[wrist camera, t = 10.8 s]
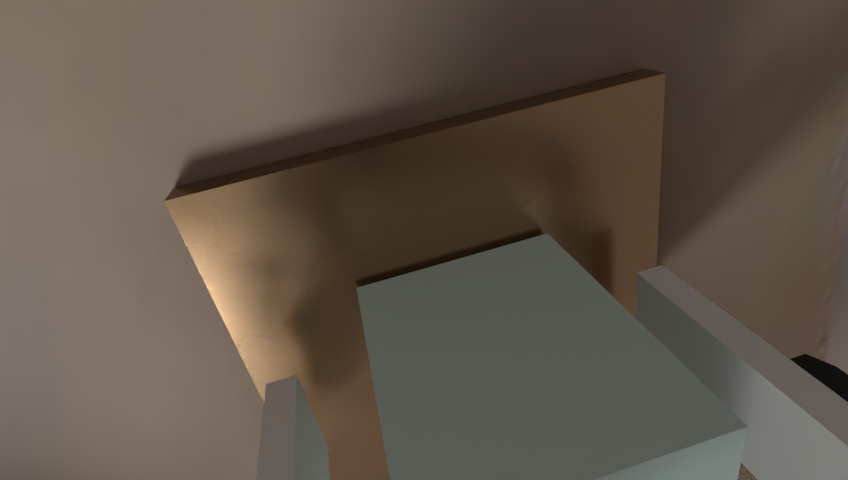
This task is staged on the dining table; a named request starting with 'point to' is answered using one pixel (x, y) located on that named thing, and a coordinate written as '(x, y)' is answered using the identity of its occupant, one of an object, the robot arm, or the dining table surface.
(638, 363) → the mint green block
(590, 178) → the tan square board
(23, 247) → the dining table surface
